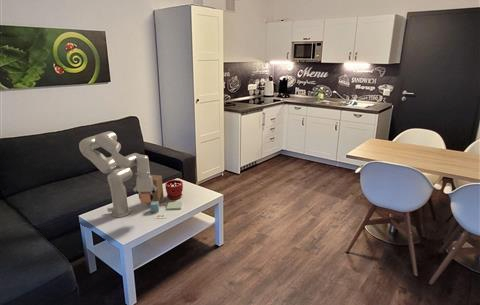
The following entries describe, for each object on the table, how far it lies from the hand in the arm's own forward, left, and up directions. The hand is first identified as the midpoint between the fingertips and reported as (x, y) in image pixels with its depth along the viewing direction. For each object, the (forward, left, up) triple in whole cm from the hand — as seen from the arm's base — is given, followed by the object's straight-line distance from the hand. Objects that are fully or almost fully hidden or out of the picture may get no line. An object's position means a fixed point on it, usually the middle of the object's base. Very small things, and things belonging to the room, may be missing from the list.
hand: (146, 199), depth 207 cm
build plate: (+16, +17, -14) cm, 27 cm away
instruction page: (+8, +3, -14) cm, 17 cm away
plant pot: (+15, +33, -15) cm, 39 cm away
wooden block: (+1, +26, -15) cm, 30 cm away
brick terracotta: (0, 0, -1) cm, 1 cm away
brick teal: (+3, +12, -15) cm, 19 cm away
